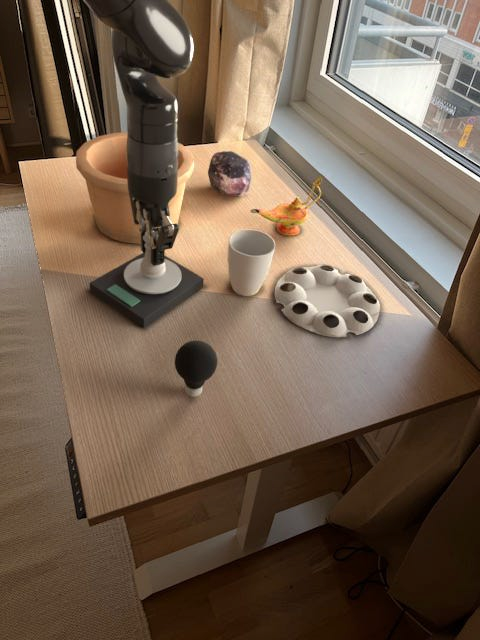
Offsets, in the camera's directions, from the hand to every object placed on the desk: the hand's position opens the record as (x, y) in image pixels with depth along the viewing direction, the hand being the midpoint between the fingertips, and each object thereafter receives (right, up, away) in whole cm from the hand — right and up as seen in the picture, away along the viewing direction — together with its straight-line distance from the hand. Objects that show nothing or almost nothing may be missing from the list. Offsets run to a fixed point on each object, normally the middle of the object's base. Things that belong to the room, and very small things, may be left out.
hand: (152, 257), depth 88 cm
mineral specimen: (+12, +19, +32) cm, 39 cm away
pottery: (-6, +10, +19) cm, 22 cm away
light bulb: (+8, -22, -12) cm, 26 cm away
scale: (-1, -5, +4) cm, 7 cm away
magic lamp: (+24, +8, +23) cm, 34 cm away
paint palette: (+31, -7, +7) cm, 33 cm away
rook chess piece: (0, -2, +2) cm, 3 cm away
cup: (+16, -5, +7) cm, 18 cm away
